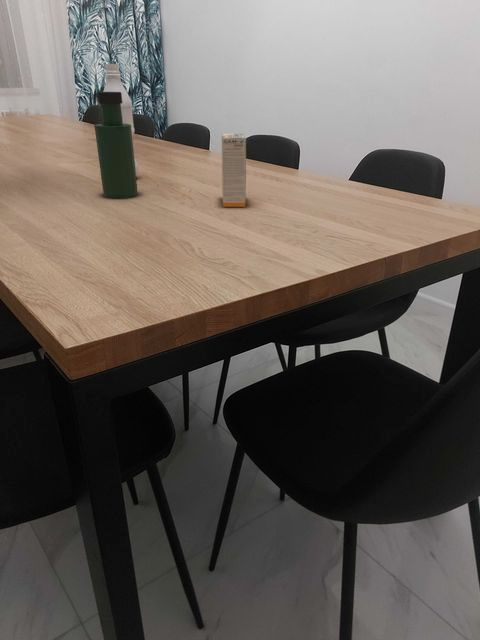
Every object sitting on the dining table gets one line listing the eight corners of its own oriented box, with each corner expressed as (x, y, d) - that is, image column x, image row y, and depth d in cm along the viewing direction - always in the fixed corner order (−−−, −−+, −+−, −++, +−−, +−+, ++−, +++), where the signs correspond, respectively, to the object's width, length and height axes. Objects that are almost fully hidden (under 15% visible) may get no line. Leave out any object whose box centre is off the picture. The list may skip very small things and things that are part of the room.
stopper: (106, 123, 100) (103, 92, 97) (97, 121, 103) (93, 91, 100) (128, 122, 102) (125, 92, 99) (118, 121, 105) (115, 91, 103)
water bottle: (139, 175, 130) (128, 64, 117) (138, 180, 123) (127, 64, 111) (111, 176, 128) (97, 63, 116) (108, 181, 122) (93, 63, 110)
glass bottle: (112, 200, 105) (100, 104, 96) (98, 193, 110) (85, 102, 101) (143, 195, 109) (134, 103, 100) (128, 190, 114) (119, 101, 105)
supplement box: (246, 207, 101) (246, 137, 95) (222, 207, 101) (221, 137, 95) (244, 198, 109) (244, 132, 102) (222, 198, 108) (221, 132, 102)
